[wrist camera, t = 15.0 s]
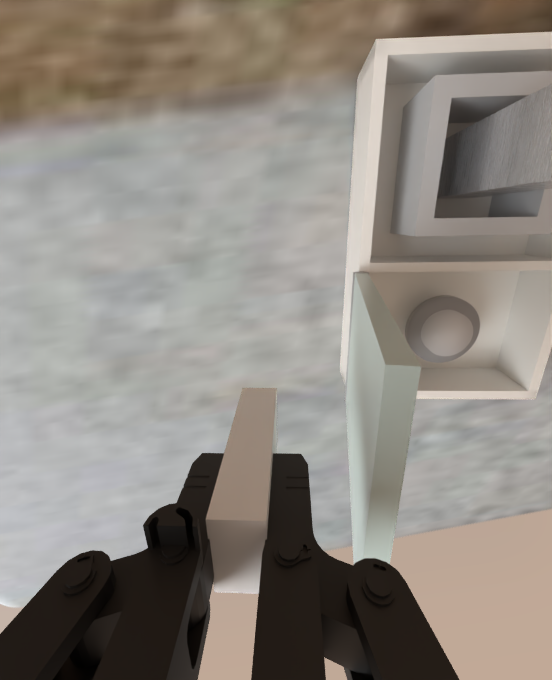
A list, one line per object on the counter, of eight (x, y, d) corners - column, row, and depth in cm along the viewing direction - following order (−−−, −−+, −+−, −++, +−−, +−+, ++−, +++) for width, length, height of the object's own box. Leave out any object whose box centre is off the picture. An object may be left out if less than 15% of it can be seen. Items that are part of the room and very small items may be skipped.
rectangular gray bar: (425, 199, 23) (674, 161, 8) (432, 145, 22) (740, -15, 7) (472, 197, 23) (817, 156, 8) (482, 143, 22) (909, -25, 7)
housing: (339, 369, 29) (351, 405, 24) (357, 78, 22) (381, 28, 16) (495, 370, 29) (545, 406, 23) (570, 70, 21) (673, 16, 15)
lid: (357, 397, 24) (344, 396, 24) (368, 271, 21) (352, 271, 21) (383, 622, 11) (353, 616, 11) (426, 367, 7) (381, 364, 8)
